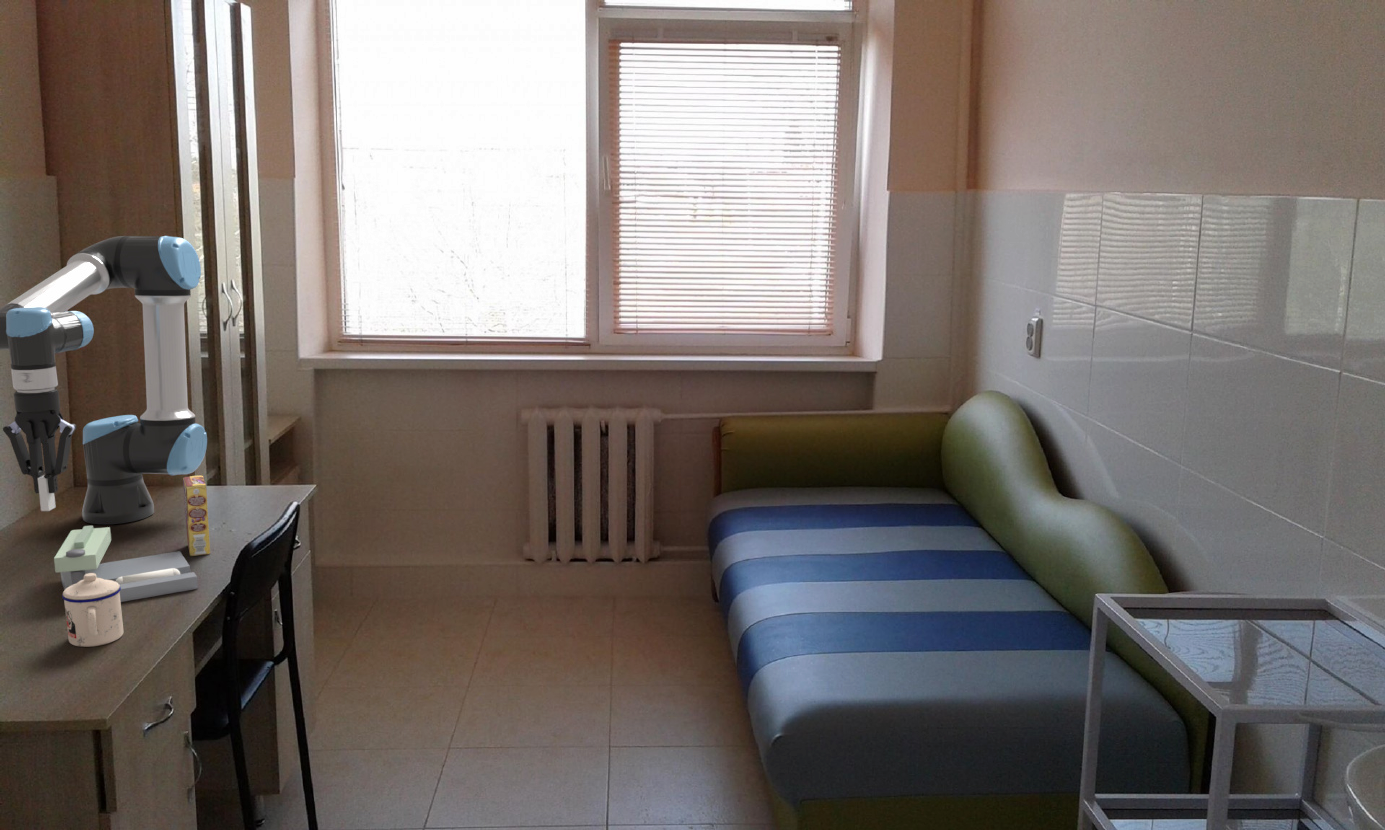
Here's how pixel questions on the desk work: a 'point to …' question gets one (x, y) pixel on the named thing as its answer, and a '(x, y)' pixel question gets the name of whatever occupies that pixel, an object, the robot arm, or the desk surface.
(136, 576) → the white rounded rod
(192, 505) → the candy box
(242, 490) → the desk surface
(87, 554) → the cover
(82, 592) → the teacup with lid
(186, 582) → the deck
